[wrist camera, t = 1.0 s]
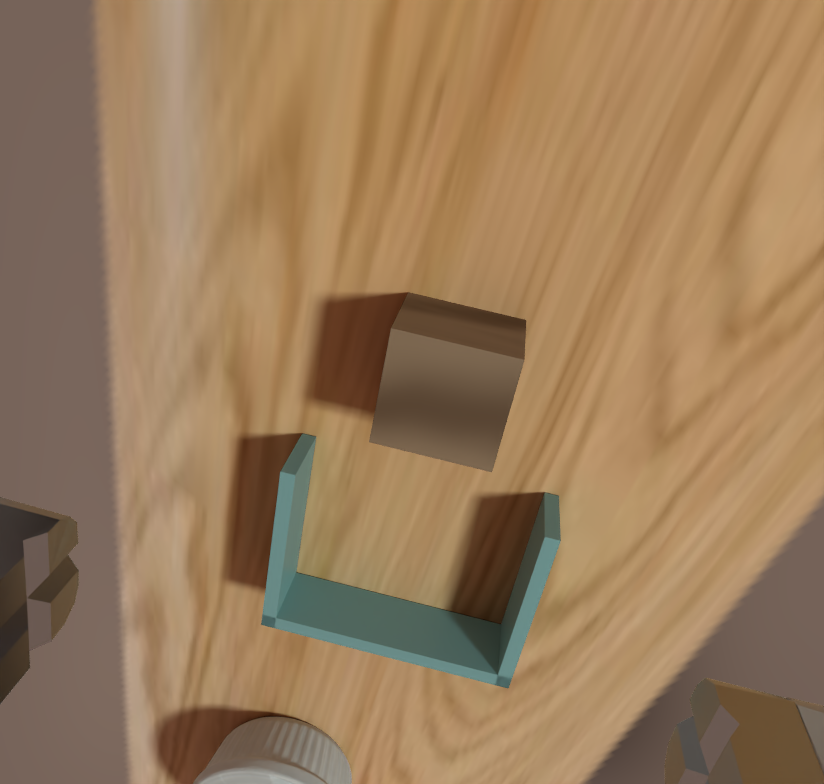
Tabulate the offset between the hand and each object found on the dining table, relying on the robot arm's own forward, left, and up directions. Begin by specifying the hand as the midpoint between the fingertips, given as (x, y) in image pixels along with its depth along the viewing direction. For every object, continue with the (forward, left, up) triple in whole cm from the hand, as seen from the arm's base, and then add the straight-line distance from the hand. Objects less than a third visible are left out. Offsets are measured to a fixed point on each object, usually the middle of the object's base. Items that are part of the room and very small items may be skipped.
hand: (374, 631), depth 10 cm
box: (+21, 0, -28) cm, 35 cm away
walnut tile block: (+9, 0, -28) cm, 30 cm away
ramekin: (+43, -5, -28) cm, 52 cm away
